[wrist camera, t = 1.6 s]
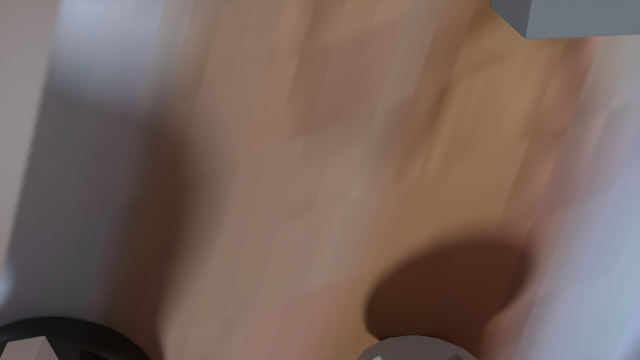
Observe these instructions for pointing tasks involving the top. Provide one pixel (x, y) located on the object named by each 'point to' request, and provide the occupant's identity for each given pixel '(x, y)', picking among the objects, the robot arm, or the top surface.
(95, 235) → the top surface
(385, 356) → the valve
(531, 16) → the socket block
